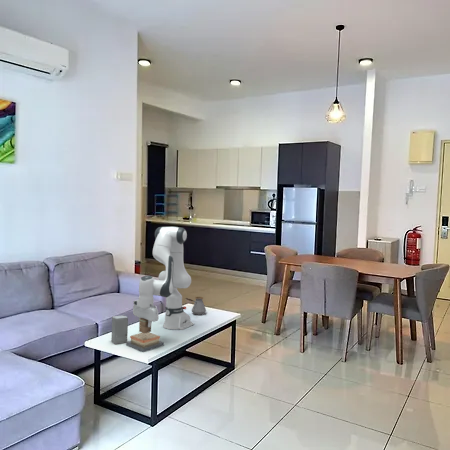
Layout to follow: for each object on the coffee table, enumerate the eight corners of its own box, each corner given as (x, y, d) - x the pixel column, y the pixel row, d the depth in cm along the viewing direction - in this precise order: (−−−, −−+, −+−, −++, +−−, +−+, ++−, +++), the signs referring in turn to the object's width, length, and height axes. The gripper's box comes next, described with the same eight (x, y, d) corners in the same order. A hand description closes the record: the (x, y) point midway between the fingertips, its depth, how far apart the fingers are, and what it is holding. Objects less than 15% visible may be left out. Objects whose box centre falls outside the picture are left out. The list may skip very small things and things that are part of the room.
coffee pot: (198, 311, 335) (198, 292, 334) (209, 313, 328) (209, 295, 327) (179, 316, 319) (179, 296, 318) (190, 319, 311) (190, 299, 310)
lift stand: (147, 339, 264) (147, 329, 263) (163, 345, 253) (164, 335, 253) (126, 345, 252) (126, 335, 251) (142, 352, 241) (143, 342, 241)
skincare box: (115, 344, 252) (115, 319, 251) (110, 341, 258) (111, 316, 257) (128, 342, 257) (128, 317, 256) (123, 339, 263) (124, 314, 262)
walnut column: (145, 329, 255) (146, 316, 255) (151, 331, 252) (151, 318, 252) (138, 331, 252) (139, 318, 251) (144, 333, 248) (144, 320, 248)
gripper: (161, 305, 247) (160, 328, 247) (139, 299, 260) (139, 321, 261) (153, 307, 242) (152, 330, 243) (131, 300, 255) (130, 323, 256)
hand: (145, 325), depth 252 cm, fingers closed on walnut column, 5 cm apart
